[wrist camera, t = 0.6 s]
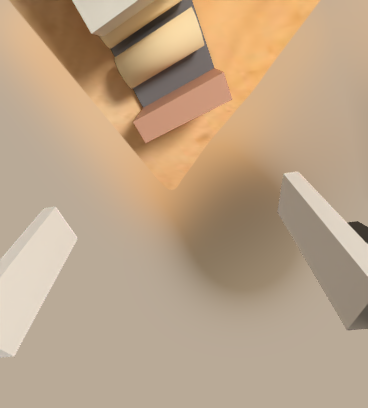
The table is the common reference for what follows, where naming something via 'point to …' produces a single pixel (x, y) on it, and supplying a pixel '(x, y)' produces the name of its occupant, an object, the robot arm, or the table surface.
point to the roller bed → (174, 70)
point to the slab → (108, 13)
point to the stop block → (183, 105)
